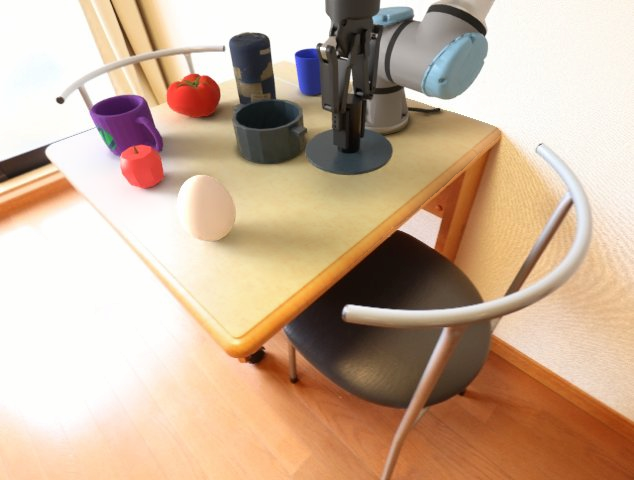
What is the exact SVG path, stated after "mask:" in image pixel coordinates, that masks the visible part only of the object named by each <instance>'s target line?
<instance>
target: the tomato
mask: <svg viewBox="0 0 634 480" xmlns="http://www.w3.org/2000/svg"><path fill="white" fill-rule="evenodd" d="M221 97H222V96H221V88H220V85H219V83H217V82H216V80H214V79H213V78H212V77H211V76H209V75H206V74H203V75H200V74H199V73H190V74H188V75H185V76H184V77H182V78H181V79H180V81H179V80H177V81H173V82H171V84H170V85H169V86H168V88H167V92H166V104H167V105H168V108H170V110H172V111H173V112H175V113H176V114H180V115H184V116H188V117H192V118H193V119H194V118H200V117H208V116H210V115H212V114H213V113H214V112H215V111H216V110H217V108H218V106H219V103H220V101H221Z"/></svg>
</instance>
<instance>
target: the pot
mask: <svg viewBox="0 0 634 480" xmlns="http://www.w3.org/2000/svg"><path fill="white" fill-rule="evenodd" d="M232 109H233V113H232V118H231V122H232V126H233V131H234V135H235V140H236V145H237V150H238V152H239V154H240V156H241V157H242V158H243V159H245V160H246V161H249V162H251V163H256V164H262V165H271V164H272V165H273V164H279V163H283V162H287V161H289V160H292V159H294V158H296V157H297V156H299V155H300V154H301V153H302V152H303V151H304V149H305V147H306V140H305V139H306V138H305V135H307V134H308V127H306V126H304V113H303V108H302V107H301V106H300V105H299V104H298V103H296V102H294V101H291V100H288V99H280V98H276V99H266V100H259V101H255V102H251V103H248V104H246V105H244V104H242V103H240V102H239V103H238V104H236V105H234V106H232Z"/></svg>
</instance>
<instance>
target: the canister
mask: <svg viewBox="0 0 634 480" xmlns="http://www.w3.org/2000/svg"><path fill="white" fill-rule="evenodd" d="M271 47H272V46H271V41H270V38H269V36H268V35H266V34H265V33H261V32H250V31H246V32H241V33H239V34H236V35H233V36H232V37H230V39H229V42H228V48H229V52H230V53H229V54H230V58H231V65H232V67H233V68H232V70H233V75H234V79H235V84H236V89H237V95H238V101H239V104H240V103H242V104H244V105H246V104H248V103H251V102H255V101H259V100H266V99H277V92H276V91H277V90H276V81H275V72H274V66H273V58H272V48H271Z"/></svg>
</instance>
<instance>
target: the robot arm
mask: <svg viewBox="0 0 634 480" xmlns="http://www.w3.org/2000/svg"><path fill="white" fill-rule="evenodd" d="M324 2H325V3H324V5H325V6H324V9H325V14H326V15H327V16H328V17H329V18H330V28H329V32H328V38H327V40H326V41H325V42H324V43H322V42H318V43H317V44H316V46H315V49H316V51H317V54H318V58H319V61H320V78H321V93H320V95H321V109H322V110H324V111H326V112H329V113H331V129H333V144H334V145H336V146H339V147H341V148H344V149H347V148H348V140H349V111H348V110H346V105H347V97H348V94H357V95H360V96H361V97H362V116H361V136H360V138H363V137H364V132H365V129H367V130H371V131H374V132H377V133H379V134H381V135H383V136H384V135H390V134H394V133H398V132H399V131H401V130H403V129H404V128H405V127H406V126H407V125H408V123H409V116H410V112H416V113H417V112H418V113H424V114H432V113H433V114H434V113H439V112H441V111H442V108H441V107H436V108H422V107H410V106H408V102H407V97H406V91H405V88H406V89H409V90H412V91H414V92H418V93H420V94H424V96H426V97H429V98H436V99H440V100H446V101H447V100H453V99H456V98H457V97H458V96H461V95H462V94H464V93H465V92H466V91H467V90H468V89H469V88H470V87H471V86H472V84H473V83H474V82H475V81H476V79H477V78H478V76H479V75H480V73H481V71H482V69H483V68H484V65H485V60H486V58H487V57H488V51H489V41H488V39H487V37H486V36H487V34H488V30H489V29H488V26H487V23H486V18H487V16H488V14H489V13H490V11H491V9H492V7H493V6H494V3H495V2H496V0H438V1H435V2H433V3H431V4H430V5H429V7H428V8H427V11H426V13H425V14H424V16H423V19H422V20H421V21H419V20H415V19H414V18H415V13H414V8H412V7H410V6H388V7H381V0H324ZM351 78H352V79H351ZM351 80H352V81H351ZM350 81H351V82H352V84H351V90H349V89H350ZM349 91H350V93H349Z"/></svg>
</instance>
